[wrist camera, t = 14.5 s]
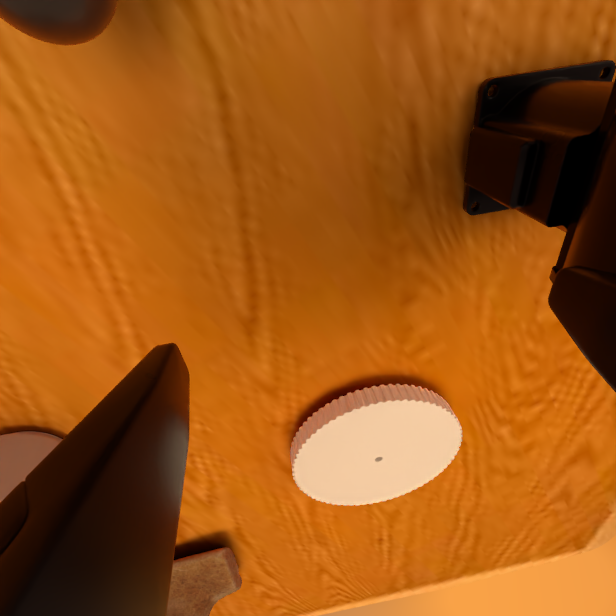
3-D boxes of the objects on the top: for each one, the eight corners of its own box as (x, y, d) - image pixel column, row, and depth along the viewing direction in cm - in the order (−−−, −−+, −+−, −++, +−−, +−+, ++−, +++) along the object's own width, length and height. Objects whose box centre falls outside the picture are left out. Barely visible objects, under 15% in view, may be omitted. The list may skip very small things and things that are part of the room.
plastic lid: (266, 472, 32) (267, 500, 30) (330, 358, 25) (338, 384, 23) (396, 484, 37) (406, 509, 35) (479, 390, 30) (497, 414, 28)
